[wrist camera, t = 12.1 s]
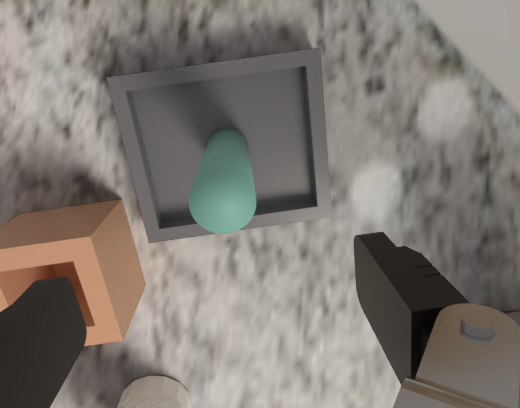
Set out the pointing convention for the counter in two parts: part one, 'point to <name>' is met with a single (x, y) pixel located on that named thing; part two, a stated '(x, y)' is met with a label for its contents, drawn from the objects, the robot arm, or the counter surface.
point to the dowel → (224, 184)
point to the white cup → (155, 394)
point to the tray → (226, 116)
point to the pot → (77, 262)
